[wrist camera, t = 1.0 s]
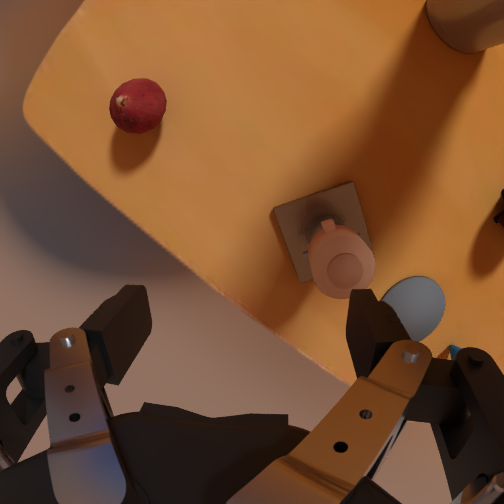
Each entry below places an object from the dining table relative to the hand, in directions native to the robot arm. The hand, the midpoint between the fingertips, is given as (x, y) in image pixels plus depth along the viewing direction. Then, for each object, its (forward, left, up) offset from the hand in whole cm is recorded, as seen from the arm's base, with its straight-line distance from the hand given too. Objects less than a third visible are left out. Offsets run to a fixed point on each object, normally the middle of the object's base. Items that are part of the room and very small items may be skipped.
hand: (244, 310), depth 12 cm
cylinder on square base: (-5, +6, -24) cm, 25 cm away
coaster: (-13, +20, -24) cm, 33 cm away
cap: (-5, +6, -17) cm, 18 cm away
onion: (+8, -14, -24) cm, 29 cm away
